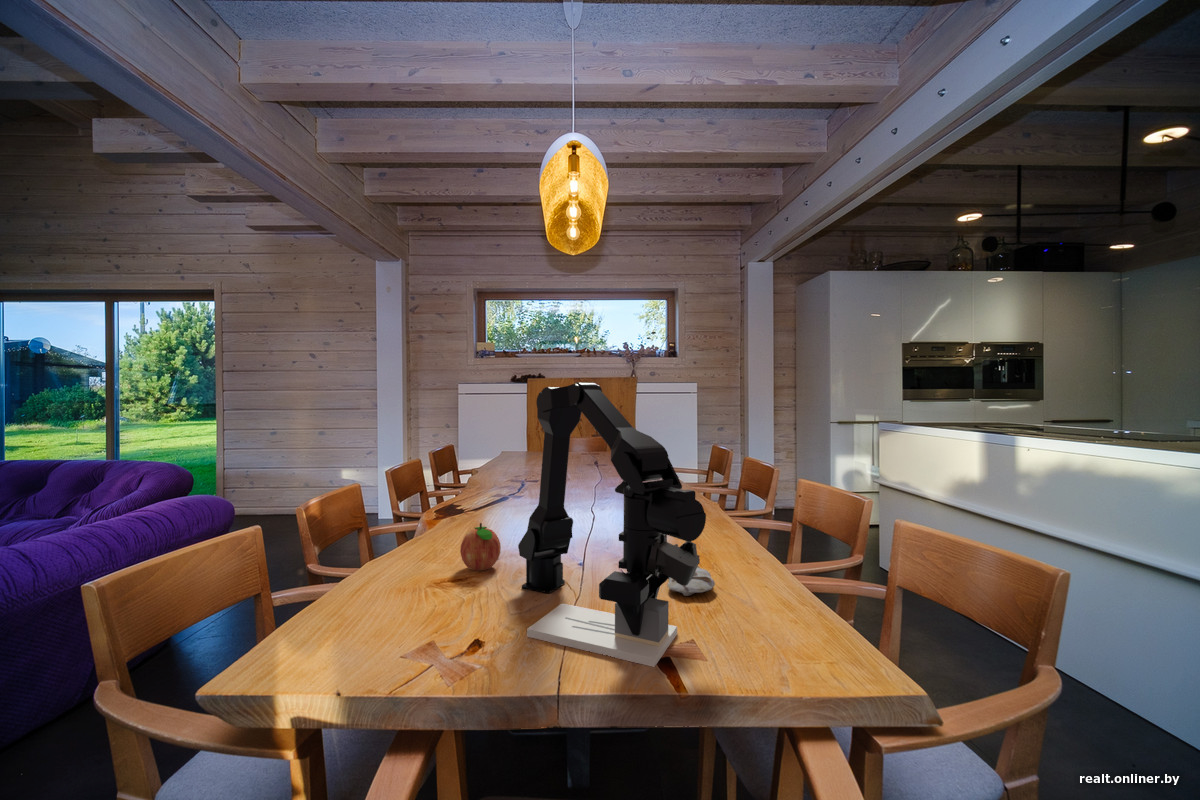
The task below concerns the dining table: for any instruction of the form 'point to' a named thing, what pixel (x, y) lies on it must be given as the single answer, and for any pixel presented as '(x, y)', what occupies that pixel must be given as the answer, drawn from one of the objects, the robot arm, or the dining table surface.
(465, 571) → the dining table surface
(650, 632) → the block
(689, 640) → the dining table surface
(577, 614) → the board
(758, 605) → the dining table surface
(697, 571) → the stone
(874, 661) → the dining table surface
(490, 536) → the fruit
